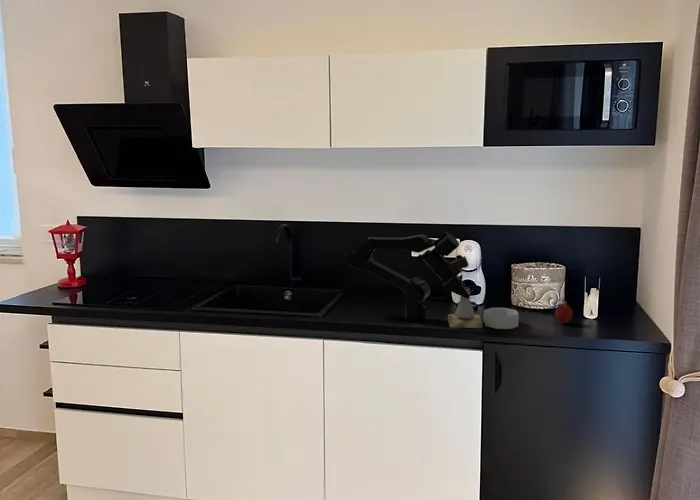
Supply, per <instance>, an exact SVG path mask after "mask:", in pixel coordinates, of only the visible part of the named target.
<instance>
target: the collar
mask: <svg viewBox="0 0 700 500" xmlns="http://www.w3.org/2000/svg"><path fill="white" fill-rule="evenodd" d="M519 317H520V316H519V312H518V311H517V310H516V309H512V308H508V307H507V308H506V307H491V308H490V307H489V308H487V309H484V310H483V323H484V326H485V327H489V328H493V329H496V330H501V329H502V330H511V329H515V328H518V327H519Z"/></svg>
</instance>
